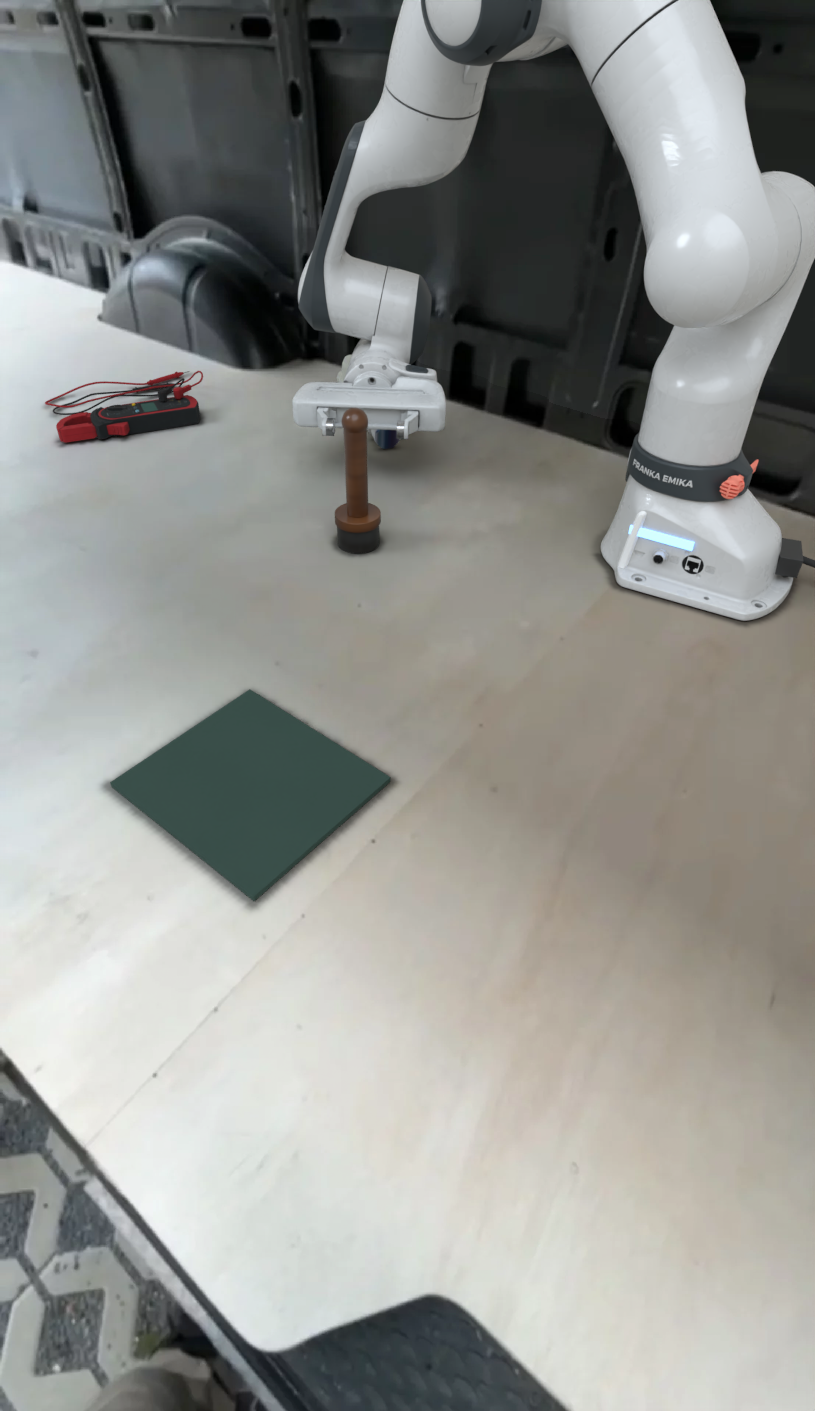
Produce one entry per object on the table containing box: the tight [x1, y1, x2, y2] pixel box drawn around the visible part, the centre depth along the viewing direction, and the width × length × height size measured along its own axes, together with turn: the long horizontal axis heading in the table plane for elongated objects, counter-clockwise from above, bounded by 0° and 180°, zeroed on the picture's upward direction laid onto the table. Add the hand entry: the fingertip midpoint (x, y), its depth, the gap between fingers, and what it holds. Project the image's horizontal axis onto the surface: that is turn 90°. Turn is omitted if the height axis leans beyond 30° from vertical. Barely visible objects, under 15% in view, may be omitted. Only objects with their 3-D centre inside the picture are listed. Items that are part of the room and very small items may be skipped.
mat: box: [109, 689, 392, 902], centre depth 68 cm, size 18×16×1 cm
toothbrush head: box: [336, 354, 401, 450], centre depth 126 cm, size 5×7×25 cm
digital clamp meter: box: [44, 370, 204, 444], centre depth 127 cm, size 23×4×25 cm
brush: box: [334, 407, 382, 555], centre depth 93 cm, size 6×6×17 cm
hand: (364, 431), depth 100 cm, fingers open, 8 cm apart
